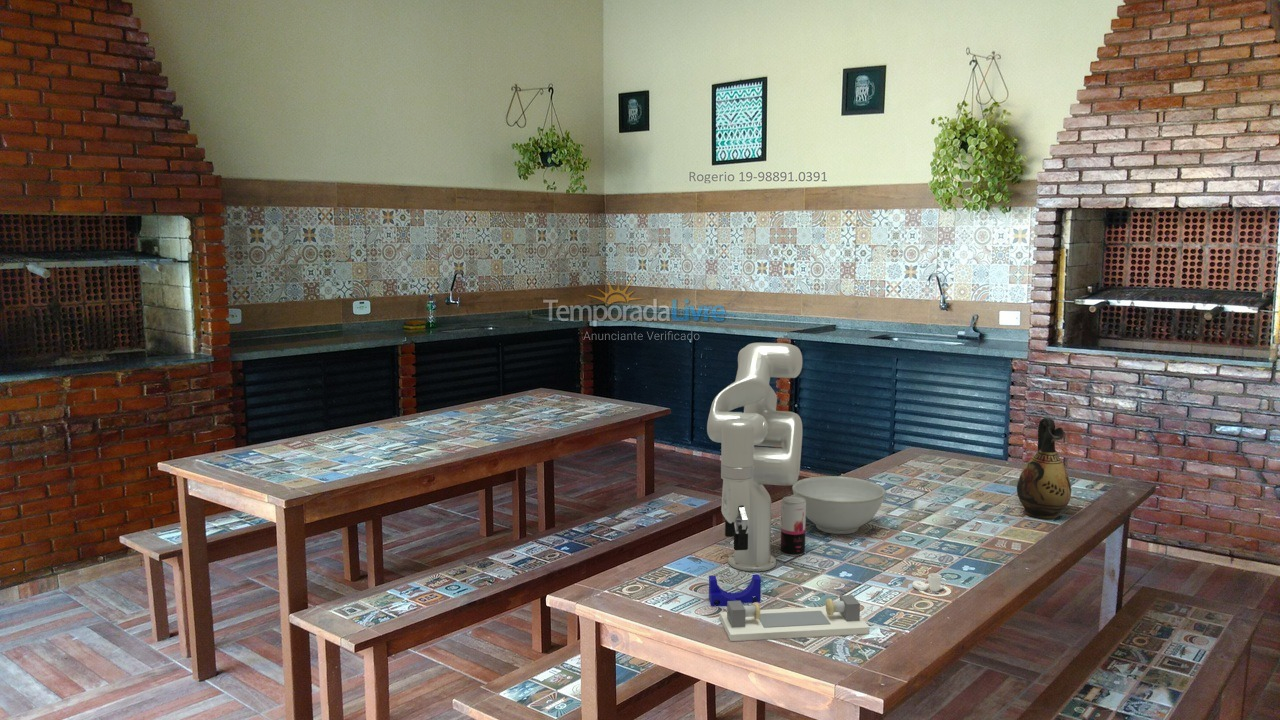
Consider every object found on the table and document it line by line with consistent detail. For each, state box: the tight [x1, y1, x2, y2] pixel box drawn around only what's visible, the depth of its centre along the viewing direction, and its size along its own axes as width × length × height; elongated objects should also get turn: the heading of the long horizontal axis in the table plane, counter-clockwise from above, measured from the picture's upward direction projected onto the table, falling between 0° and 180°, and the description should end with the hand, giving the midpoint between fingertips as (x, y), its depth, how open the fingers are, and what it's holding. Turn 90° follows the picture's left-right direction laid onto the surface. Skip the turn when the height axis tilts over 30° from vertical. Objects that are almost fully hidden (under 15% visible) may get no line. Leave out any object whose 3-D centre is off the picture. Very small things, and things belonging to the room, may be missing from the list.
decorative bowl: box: [791, 475, 886, 535], centre depth 275 cm, size 27×27×12 cm
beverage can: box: [780, 495, 807, 557], centre depth 254 cm, size 7×7×15 cm
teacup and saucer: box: [912, 572, 952, 597], centre depth 229 cm, size 9×8×4 cm
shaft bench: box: [719, 594, 870, 642], centre depth 208 cm, size 12×31×6 cm, turn 97°
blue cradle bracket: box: [708, 574, 762, 607], centre depth 222 cm, size 12×4×6 cm, turn 93°
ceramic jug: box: [1016, 417, 1072, 520], centre depth 287 cm, size 17×15×30 cm
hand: (736, 542), depth 219 cm, fingers open, 9 cm apart
